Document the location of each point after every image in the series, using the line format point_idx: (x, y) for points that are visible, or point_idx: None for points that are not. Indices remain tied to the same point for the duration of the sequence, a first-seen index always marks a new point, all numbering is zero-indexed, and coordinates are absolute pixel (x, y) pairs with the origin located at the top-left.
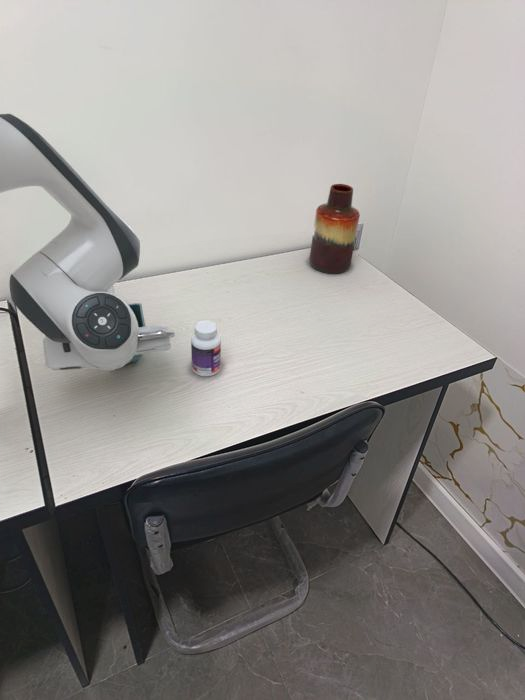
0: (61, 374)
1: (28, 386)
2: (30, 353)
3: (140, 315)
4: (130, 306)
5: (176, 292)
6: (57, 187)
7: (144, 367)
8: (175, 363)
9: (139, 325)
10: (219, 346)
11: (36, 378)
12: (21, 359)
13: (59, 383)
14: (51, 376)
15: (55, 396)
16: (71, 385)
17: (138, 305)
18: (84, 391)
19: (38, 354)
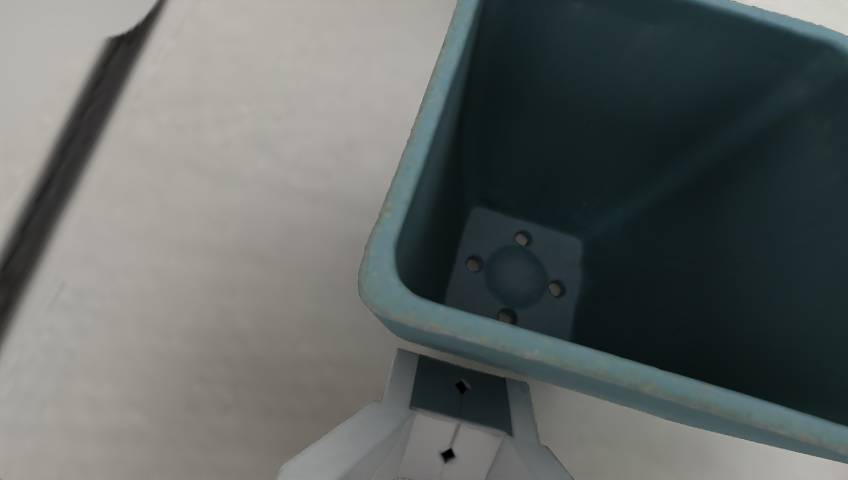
0: (194, 264)
1: (13, 274)
2: (152, 68)
3: (809, 161)
4: (766, 39)
5: (801, 6)
6: None
7: (583, 419)
8: (746, 471)
9: (687, 176)
10: None
11: (79, 235)
12: (99, 85)
13: (151, 328)
14: (146, 256)
15: (76, 427)
16: (194, 375)
17: (841, 59)
18: (228, 465)
19: (176, 88)
